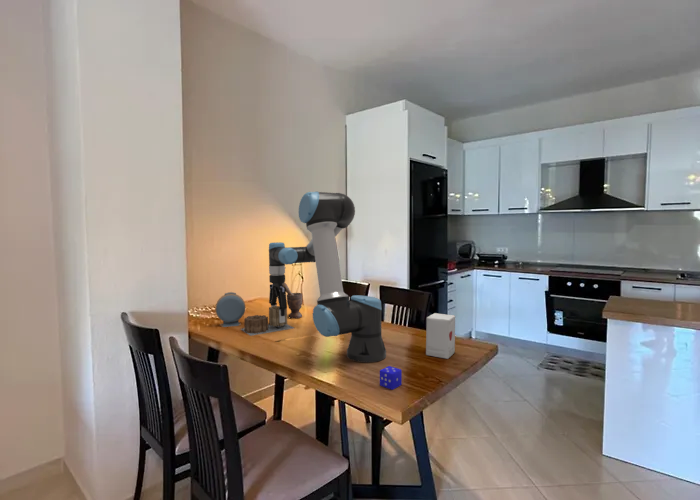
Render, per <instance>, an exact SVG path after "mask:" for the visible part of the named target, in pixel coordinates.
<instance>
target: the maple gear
mask: <svg viewBox="0 0 700 500" xmlns="http://www.w3.org/2000/svg"><path fill="white" fill-rule="evenodd" d="M279 308H280V306H279V305H277V306H273V307H271V306H270V307H268V324H269V325H270V326H271V325H273V326H283V325H286V324H288V307H287V308H286V309H285V322H283V323H279Z"/></svg>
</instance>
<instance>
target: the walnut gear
mask: <svg viewBox="0 0 700 500" xmlns="http://www.w3.org/2000/svg"><path fill="white" fill-rule="evenodd" d="M243 323H244V328H245V331H247V333H254V334H255V333H261V332H266V330H268V324H269V316H266V315H265V314H264V315H259V314H255V315H249V316H246V317H244V322H243ZM247 333H246V334H247Z"/></svg>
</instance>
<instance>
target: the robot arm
mask: <svg viewBox="0 0 700 500" xmlns="http://www.w3.org/2000/svg"><path fill="white" fill-rule="evenodd" d="M355 214H356V206H355V204H354V201H352V198H350V197H349V196H348V195H347V194H345V193H341V192H325V191H324V192H322V191H309V192H305V193H304V194H303V196H301V199H300V201H299V205H298V218H299V221H300V222H301V223H303V224H305V226H306V230H307V231H308V232H310V233H311V240H310V241H309V243H308V244H306V246H290V247H286V245H285V242H270V243H268V244H269V245H268V271H269V272H268V273H269V283H270V284H269V296H268V297H269V299H268V303H269V304H270V307H273V306H280V308H279V323H283V322H285V309H286V308H287V309H288V304H287V294H286V293H287V292H286V287H283V285H282V283H286V265H292V264H302V263H304V264H305V263H315V268H316V274H317V281H318V288H319V297H318V298H317V299H316V303H317V304H316V306H314V307H313V308H312V309H313V310H312V321H313V324H314V326H315V328H316V331H318V332H319V334H320V335H321V336H322V337H325V338H326V337H327V338H328V337H337V336H341V335H346V334H351V335H350V339H349V342H348V347H347V349H346V357H347V358H348V359H349V360H351V361H354V362H358V363H376V362H380V361H383V360H384V359H386V357H387V349H386V347H385V342H384V340H383V339H384V338H383V337H382V336H383V335H382V314H383V313H382V310H383V309H382V301H381V299H380V298H378V297H375V296H370V295H369V296H368V295H361V294H360V295H357V294H356V295H355V294H354V295H352V296H351V297H350V300H349V295H348V294H347V293H345V291H344V287H343V281H342V274H341V267H340V260H339V253H338V249H337V248H338V247H337V242H336V237H337V235H338V234H340V232H341V231H342V230H343V229H346V228H347V227H349V225H351V223H352V222H353V220H354V218H355ZM277 301H278V302H277Z"/></svg>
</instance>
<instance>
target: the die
mask: <svg viewBox="0 0 700 500" xmlns="http://www.w3.org/2000/svg"><path fill="white" fill-rule="evenodd" d="M402 372H403V371H402V369H401V368H397V367H393V366H391V365H389V366H386V367H384V368H382V369H380V370H379V386H380V387H383V388H386V389H388V390H391V391H392V390H395V389H397V388H398V387H400V386H402V384H403V383H402V377H403V376H402Z"/></svg>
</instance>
